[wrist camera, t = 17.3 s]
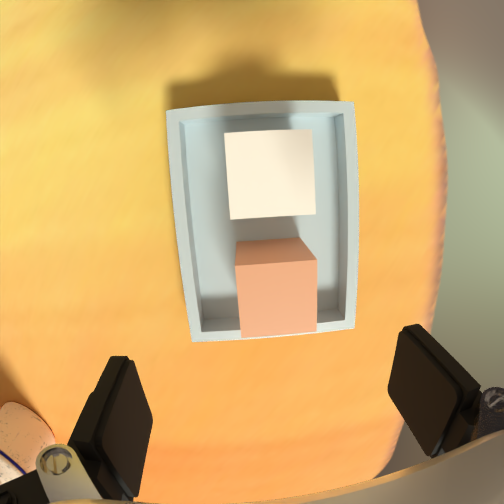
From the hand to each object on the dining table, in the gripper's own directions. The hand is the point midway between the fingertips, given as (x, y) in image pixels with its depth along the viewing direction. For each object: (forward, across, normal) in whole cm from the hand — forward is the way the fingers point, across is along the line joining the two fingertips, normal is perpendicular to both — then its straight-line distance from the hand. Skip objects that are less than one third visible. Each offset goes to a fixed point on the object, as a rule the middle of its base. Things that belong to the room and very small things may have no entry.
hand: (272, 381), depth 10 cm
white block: (+14, -2, -6) cm, 15 cm away
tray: (+14, -2, -3) cm, 14 cm away
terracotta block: (+13, -2, +1) cm, 13 cm away
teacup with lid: (+15, +30, +22) cm, 40 cm away
